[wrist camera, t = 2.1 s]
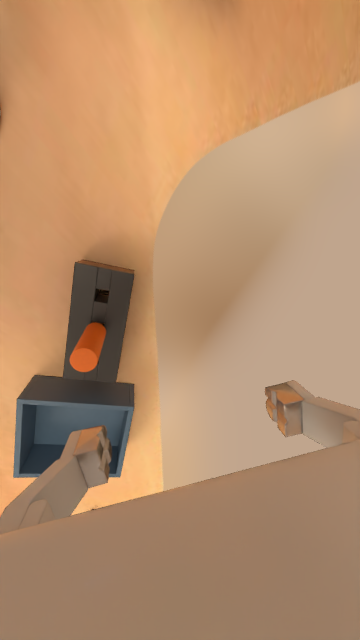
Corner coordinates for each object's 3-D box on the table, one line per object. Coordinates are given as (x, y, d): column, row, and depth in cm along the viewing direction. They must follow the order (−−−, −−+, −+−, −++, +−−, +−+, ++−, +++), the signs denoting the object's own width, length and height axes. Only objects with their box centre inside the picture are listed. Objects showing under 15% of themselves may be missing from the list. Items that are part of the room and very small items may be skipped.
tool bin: (30, 444, 44) (13, 477, 38) (34, 374, 40) (16, 399, 34) (121, 447, 48) (120, 477, 42) (134, 383, 44) (134, 407, 38)
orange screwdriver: (91, 324, 39) (68, 370, 25) (93, 308, 38) (70, 346, 24) (109, 327, 40) (96, 373, 26) (111, 311, 39) (99, 350, 25)
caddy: (70, 362, 40) (62, 378, 36) (82, 259, 36) (74, 262, 31) (117, 367, 42) (115, 383, 38) (134, 270, 38) (134, 274, 33)
